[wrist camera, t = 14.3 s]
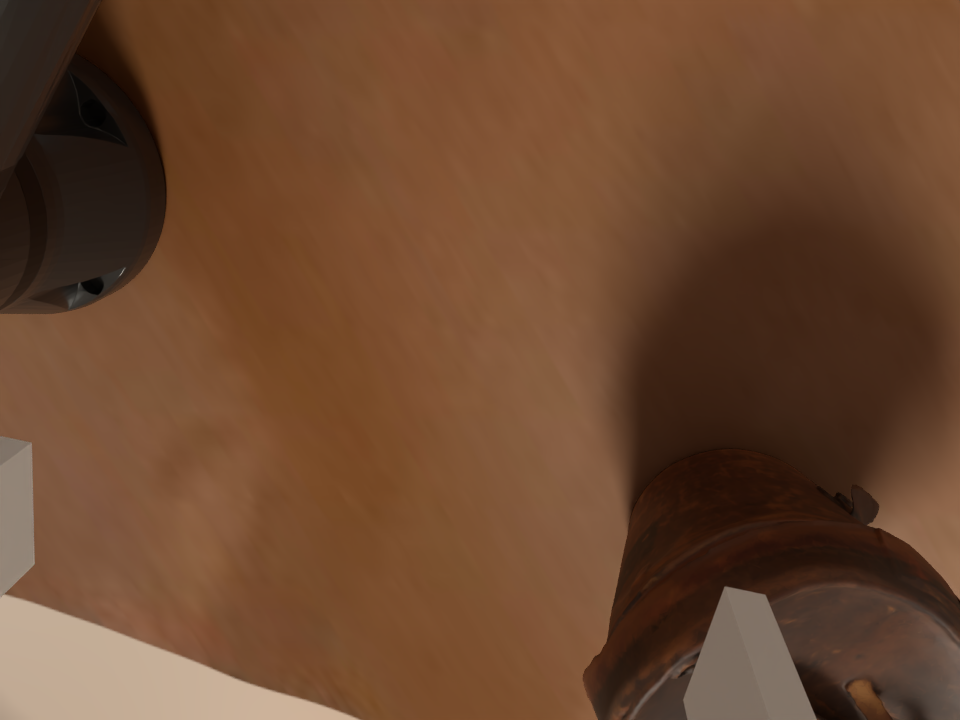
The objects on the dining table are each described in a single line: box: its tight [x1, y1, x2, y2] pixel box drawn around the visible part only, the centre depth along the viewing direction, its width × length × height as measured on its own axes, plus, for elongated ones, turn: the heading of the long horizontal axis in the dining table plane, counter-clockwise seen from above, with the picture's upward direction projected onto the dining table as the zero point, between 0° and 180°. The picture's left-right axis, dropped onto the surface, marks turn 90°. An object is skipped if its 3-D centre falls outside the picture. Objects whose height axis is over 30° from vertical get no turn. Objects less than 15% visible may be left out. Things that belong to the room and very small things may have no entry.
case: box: [583, 449, 960, 720], centre depth 42 cm, size 18×20×18 cm
